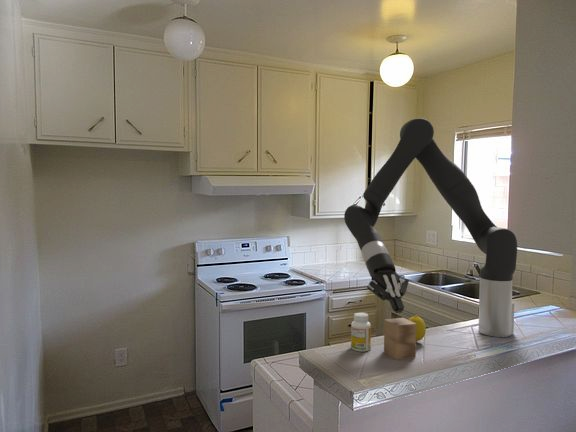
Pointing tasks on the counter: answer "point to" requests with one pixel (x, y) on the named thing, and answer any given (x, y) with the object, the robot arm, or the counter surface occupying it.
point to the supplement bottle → (360, 333)
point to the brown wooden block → (400, 338)
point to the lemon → (419, 327)
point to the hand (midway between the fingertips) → (400, 311)
